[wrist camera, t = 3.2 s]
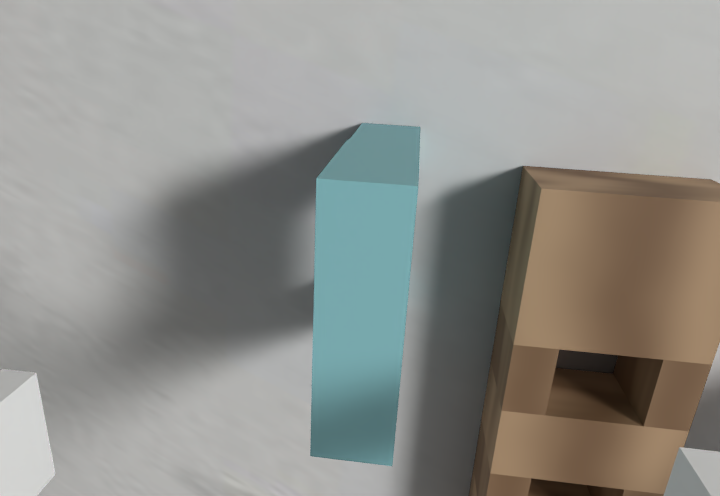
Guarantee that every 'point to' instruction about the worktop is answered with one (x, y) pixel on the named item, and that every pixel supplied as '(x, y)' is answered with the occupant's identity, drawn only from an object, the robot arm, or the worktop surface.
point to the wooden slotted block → (600, 333)
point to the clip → (362, 291)
